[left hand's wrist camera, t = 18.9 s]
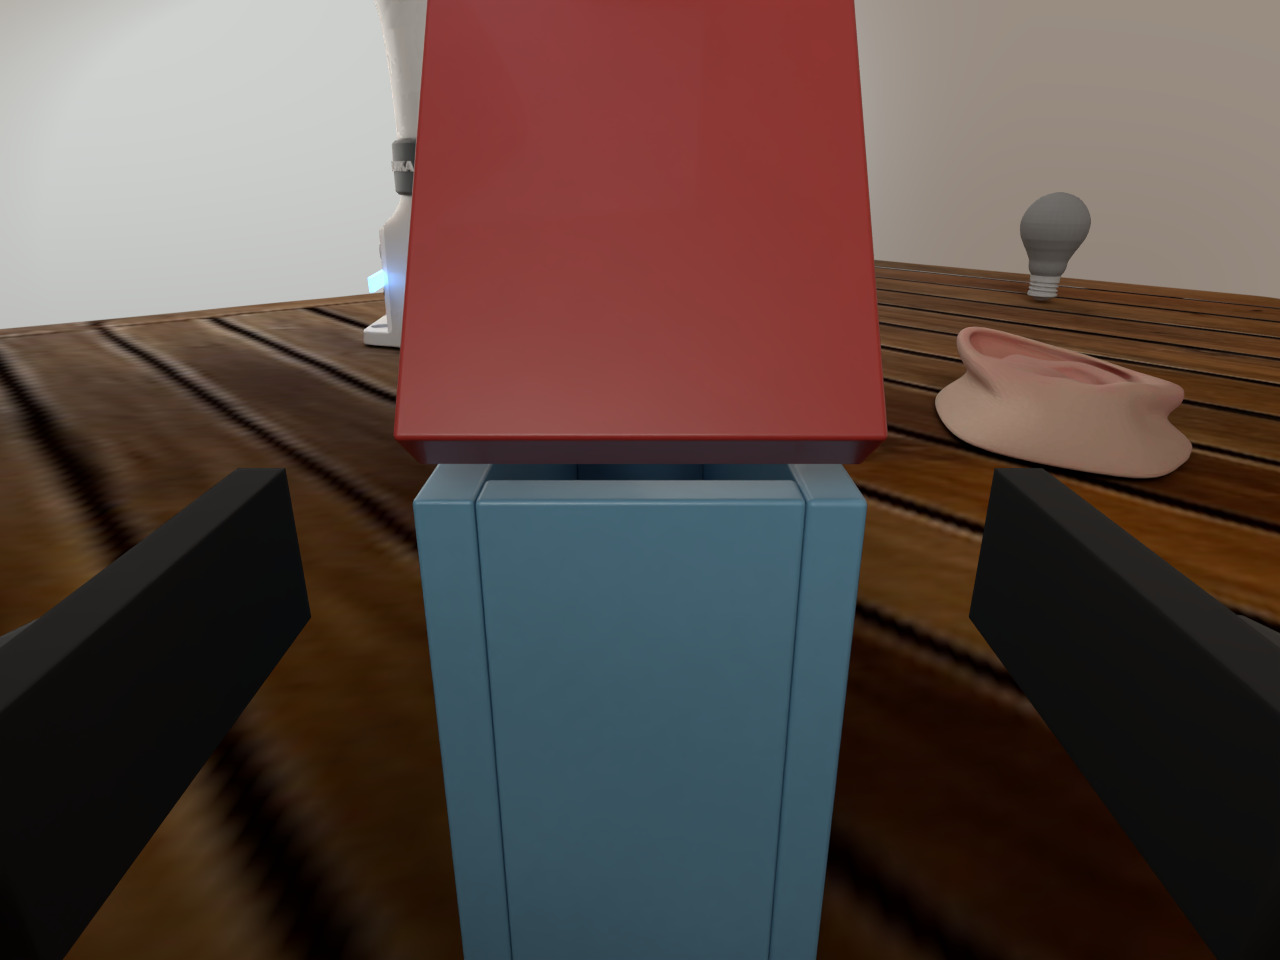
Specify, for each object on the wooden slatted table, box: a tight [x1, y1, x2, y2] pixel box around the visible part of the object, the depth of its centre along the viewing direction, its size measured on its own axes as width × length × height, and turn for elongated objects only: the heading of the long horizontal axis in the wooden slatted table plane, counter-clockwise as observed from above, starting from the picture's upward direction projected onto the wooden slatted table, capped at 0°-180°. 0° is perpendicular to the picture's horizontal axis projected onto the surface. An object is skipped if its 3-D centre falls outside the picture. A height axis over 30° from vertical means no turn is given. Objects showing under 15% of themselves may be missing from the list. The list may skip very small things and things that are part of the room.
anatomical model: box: [935, 327, 1192, 478], centre depth 40 cm, size 13×4×12 cm
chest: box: [413, 464, 867, 960], centre depth 18 cm, size 15×5×9 cm, turn 0°
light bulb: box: [1020, 192, 1091, 300], centre depth 77 cm, size 6×6×10 cm
